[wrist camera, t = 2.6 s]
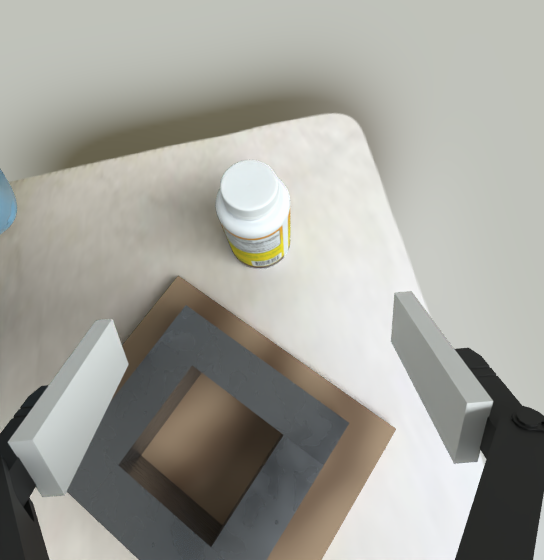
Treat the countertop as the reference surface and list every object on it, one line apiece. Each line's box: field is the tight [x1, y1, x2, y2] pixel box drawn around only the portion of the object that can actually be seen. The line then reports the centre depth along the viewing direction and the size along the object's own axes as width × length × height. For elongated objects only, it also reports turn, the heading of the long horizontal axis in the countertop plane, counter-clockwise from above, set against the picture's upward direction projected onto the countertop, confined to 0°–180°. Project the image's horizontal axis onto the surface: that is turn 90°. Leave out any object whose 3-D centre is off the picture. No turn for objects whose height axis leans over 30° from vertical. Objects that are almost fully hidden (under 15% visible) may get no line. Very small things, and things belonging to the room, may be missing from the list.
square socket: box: [67, 305, 349, 560], centre depth 26 cm, size 14×14×4 cm
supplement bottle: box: [216, 160, 290, 269], centre depth 29 cm, size 6×6×10 cm
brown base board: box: [110, 276, 396, 560], centre depth 29 cm, size 22×18×1 cm
